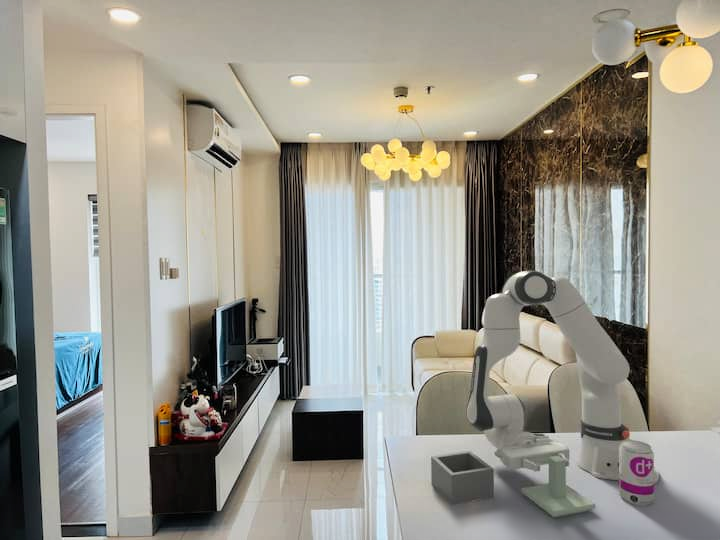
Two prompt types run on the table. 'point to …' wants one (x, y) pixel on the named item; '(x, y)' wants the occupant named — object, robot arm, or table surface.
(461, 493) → the tub
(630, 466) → the supplement can
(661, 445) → the table surface
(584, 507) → the lid
